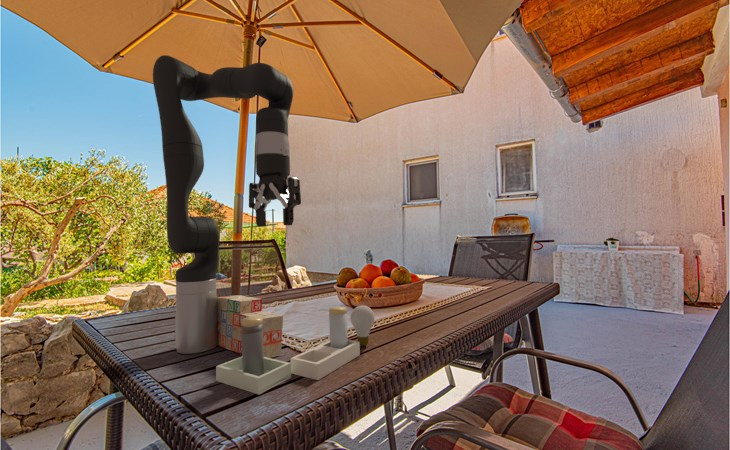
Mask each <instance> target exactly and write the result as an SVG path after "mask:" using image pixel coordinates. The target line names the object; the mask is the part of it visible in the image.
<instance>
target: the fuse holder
mask: <svg viewBox="0 0 730 450" xmlns="http://www.w3.org/2000/svg"><path fill="white" fill-rule="evenodd" d="M360 348H361V346H360V342H358V340H357V341H356V340H351V339H350V340H349V339H348V346H347V347H345V348H343V349H338V348H333V347H330V339H329V340H327V341H324V342H323V343H320V344H318V345H316V346H314V347H312V348H310V349H307V350H305V351H303V352H301V353H299V354H297V355H295V356H292V357H291V358H290V363H291V375H296V376H301V377H304V378H308V379H311V380H316V381H319V380H321V379H323V378H324V377H326V376H328V375H330V374H331V373H333V372H334V371H336V370H337V369H339V368H341V367H342V366H344V365H346V364H348V363H349V362H351V361H352V360H354V359H356V358H358V357H359V356H360V355H361V350H360Z"/></svg>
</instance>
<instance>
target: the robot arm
mask: <svg viewBox="0 0 730 450" xmlns="http://www.w3.org/2000/svg"><path fill="white" fill-rule="evenodd" d="M152 82H153V88H154V93H155V98H156V103H157V108H158V114H159V121H160V122H159V123H160V129H161V131H160V132H161V143H162V159H163V165H164V166H163V167H164V176H165V186H166V237H167V242H168V246H169V248H170V250H171V251H172V252H173V253H174V254H179V255H181V254H182V255H183V254H185V255H186V254H195V256H194V259H193V260H191V262H189V263H188V264H186V265H184V266H182V267H180V268H178V269H177V270H176V271H175V309H176V310H175V311H174V320H175V321H174V326H175V327H174V328H175V329H174V330H175V331H174V333H175V334H174V335H175V344H174V345H175V349H176V352H177V353H178V354H184V355H185V354H186V355H187V354H188V355H189V354H199V353H203V352H206V351H210V350H213V349H215V348H216V347H218V345H217V297H218V296H217V293H218V292H217V271H218V268H219V255H220V253H219V252H220V230H219V226H218V224H217V222H216V220H215V219H214V218H212V217H207V216H190V215H189V200H190V199H189V198H190V196H191V193H192V191H193V189H194V187H195V186H196V184H197V183H198V181H199V180H200V177H201V176H202V175H203V171H204V167H205V159H204V149H203V143H202V140H201V138H200V136H199V134H198V132H197V130H196V128H195V127H194V125H193V124H192V123H193V122H191V120H190V119H189V116H188V115H187V114H186V112H185V109H184V107H183V104H182V101H186V102H195V101H201V100H208V99H215V98H226V99H227V98H229V99H239V100H241V99H242V100H249V99H253V98H254V97H256V96H258V97H261V98H263V99H265V100H266V101H268V105H267V106H265V107H262V108H259V109H258V111H257V112H256V120H255V124H256V141H255V174H256V176H257V177H259V181H258V183H254V182H250V183H249V184H248V208H249V209H253V210H254V211H255V224H256V226H257V227H259V228H260V227H262V228H263V227H264V228H265V227H266V226H267V211H266V209H267V207H268V205H269V204H270V203H271V202H272V201H275V200H278V202H279V201H280V203H281V204H282V206H283V208H282V220H283V221H282V224H283V226H292V225H293V223H294V219H295V218H294V208H295V207H296V206H298V205H299V206H301V203H302V199H301V198H302V195H301V183H300V182H301V181H300V179H299V178H297V177H291V176H290V174H291V162H290V161H291V159H290V157H291V156H290V153H291V151H290V150H291V148H290V142H289V124H288V123H289V122H288V121H289V120H288V119H289V115H290V112H291V108H292V104H293V101H294V86H293V83H292V81H291V79H290V78H289V77H288V76H287V75H286V74H285V73H284V72H283V73H282V72H281V71H279V70H278V69H277V68H275V67H274V66H273V65H270V64H268V63H264V62H254V63H250V64H249V65H245V66H243V67H239V66H238V67H235V66H231V67H230V66H228V67H221V68H219V69H216V70H215V71H214V72H213V73H212V74H211V73H205V72H202V71H199V70H197V69H196V68H194V67H193V66H191V65H189V64H188V63H186V62H184V61H182V60H179V59H177V58H175V57H173V56H170V55H165V54H164V55H163V54H162V55H160V56H159V57H158V58H157V59H156V60H155V61H154V65H153V68H152Z"/></svg>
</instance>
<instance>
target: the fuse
mask: <svg viewBox="0 0 730 450" xmlns="http://www.w3.org/2000/svg"><path fill="white" fill-rule="evenodd" d="M328 313H329V314H328V315H329V317H328V318H329V319H328V320H329V321H328V323H329V324H328V325H329V340H330V347H333V348H338V349H343V348H345V347H347V346H348V340H349V339H348V308H347V307H346V306H332V307H329V308H328Z"/></svg>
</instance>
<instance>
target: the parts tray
mask: <svg viewBox="0 0 730 450" xmlns="http://www.w3.org/2000/svg"><path fill="white" fill-rule="evenodd" d="M215 369H216V370H215V375H216V376H215V379H216V382H219V383H221V384H225V385H227V386H231V387H234V388H238V389H240V390H244V391H247V392H249V393H253V394H256V395H261V394H264V393H265V392H267V391H268V390H270V389H272V388H274V387H276V386H278V385H279V384H282V383H283V382H286V381H287V380H289V379H291V378H292V373H291V362H288V361H284V360H279V359H274V358H267V357H264V374H263V375H261V376H256V375H253V374H249V373H246V372H242V355H241V356H239V357H237V358H234V359H232V360H229V361H226V362H224V363H221V364H218V365H216V367H215Z"/></svg>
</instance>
